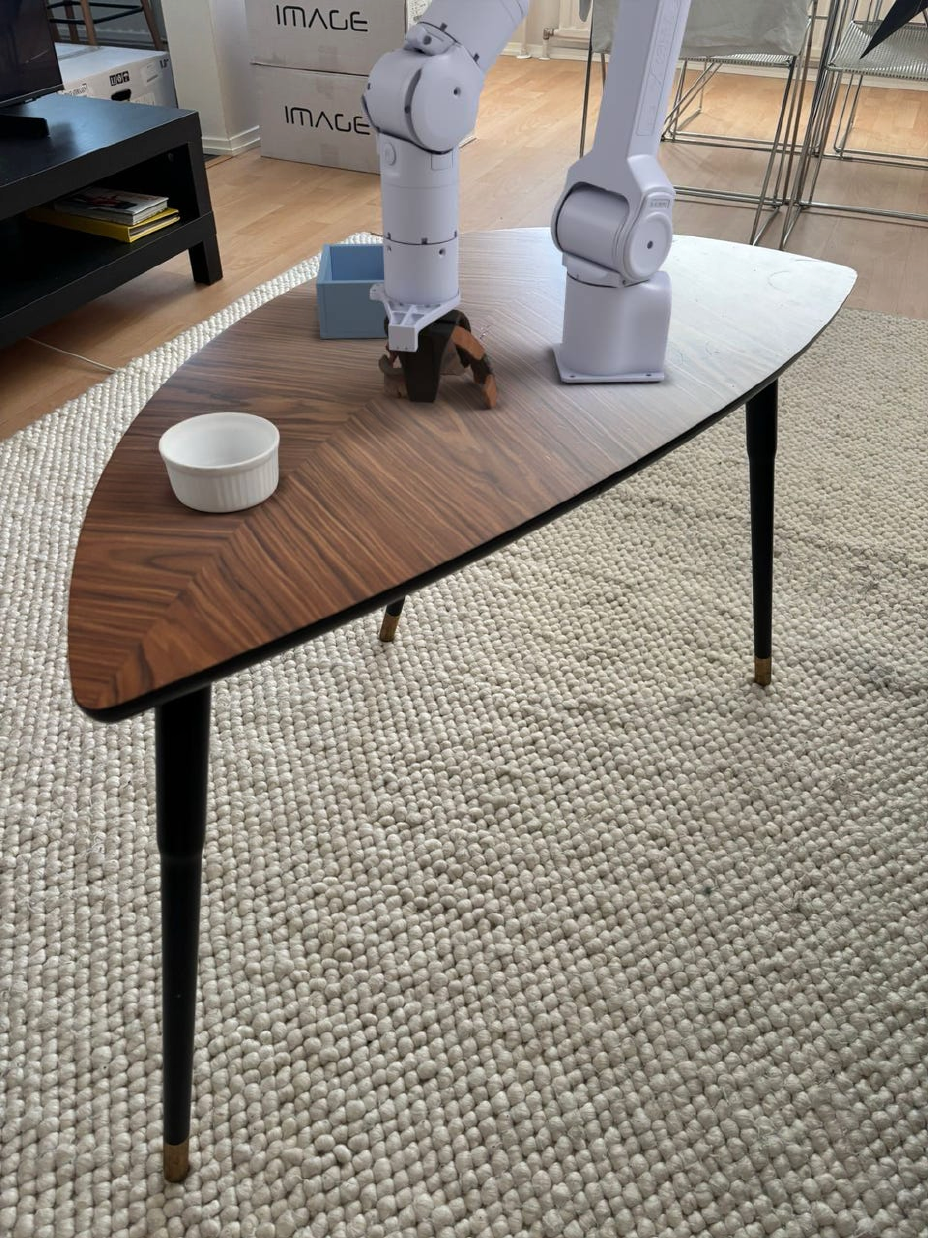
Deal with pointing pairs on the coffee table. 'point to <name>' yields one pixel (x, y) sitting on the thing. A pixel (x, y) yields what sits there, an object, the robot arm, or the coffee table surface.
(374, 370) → the coffee table surface
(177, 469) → the ramekin
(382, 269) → the bin
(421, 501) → the coffee table surface
